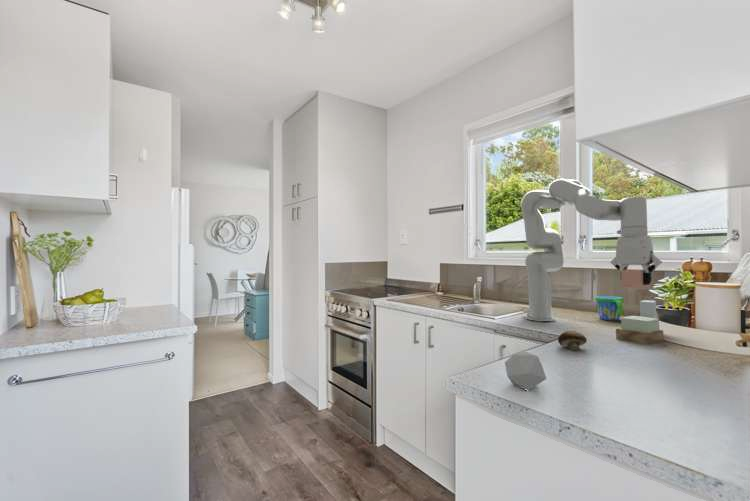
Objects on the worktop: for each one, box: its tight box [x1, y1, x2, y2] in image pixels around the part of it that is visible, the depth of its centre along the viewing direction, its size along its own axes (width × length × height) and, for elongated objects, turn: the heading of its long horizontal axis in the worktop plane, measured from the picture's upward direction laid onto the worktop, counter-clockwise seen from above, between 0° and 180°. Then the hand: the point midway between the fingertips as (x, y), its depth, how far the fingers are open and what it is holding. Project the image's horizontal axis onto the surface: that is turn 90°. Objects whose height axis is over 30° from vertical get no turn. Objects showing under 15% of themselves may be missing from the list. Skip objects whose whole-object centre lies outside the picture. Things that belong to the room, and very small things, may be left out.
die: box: [504, 350, 547, 391], centre depth 81 cm, size 8×9×10 cm
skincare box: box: [639, 299, 658, 319], centre depth 131 cm, size 6×4×12 cm
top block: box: [620, 315, 660, 333], centre depth 121 cm, size 8×8×4 cm
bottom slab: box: [615, 327, 665, 346], centre depth 122 cm, size 10×10×4 cm
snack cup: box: [594, 295, 624, 322], centre depth 159 cm, size 16×10×10 cm
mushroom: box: [557, 330, 588, 351], centre depth 112 cm, size 8×8×6 cm
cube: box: [620, 268, 651, 289], centre depth 122 cm, size 6×6×6 cm
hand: (635, 283), depth 122 cm, fingers closed on cube, 6 cm apart
